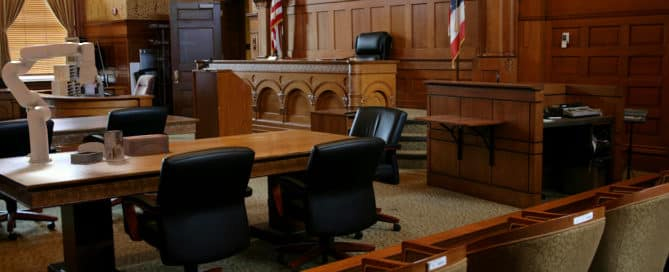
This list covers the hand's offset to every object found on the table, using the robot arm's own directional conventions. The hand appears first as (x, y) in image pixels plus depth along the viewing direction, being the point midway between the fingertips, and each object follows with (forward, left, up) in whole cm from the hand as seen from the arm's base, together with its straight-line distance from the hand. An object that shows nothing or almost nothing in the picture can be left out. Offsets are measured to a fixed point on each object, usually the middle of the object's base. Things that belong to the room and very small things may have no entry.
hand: (89, 94), depth 405 cm
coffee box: (+13, +3, -38) cm, 40 cm away
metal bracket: (+1, -7, -38) cm, 39 cm away
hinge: (-9, +10, -39) cm, 41 cm away
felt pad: (+13, +3, -38) cm, 41 cm away
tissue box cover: (+11, +35, -39) cm, 53 cm away
